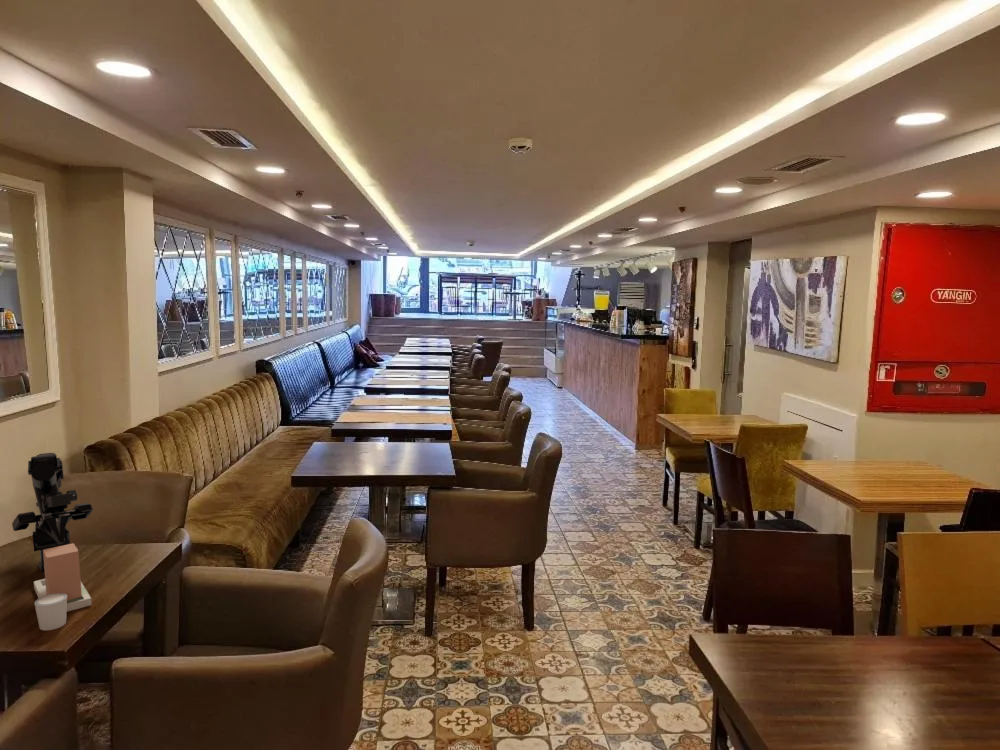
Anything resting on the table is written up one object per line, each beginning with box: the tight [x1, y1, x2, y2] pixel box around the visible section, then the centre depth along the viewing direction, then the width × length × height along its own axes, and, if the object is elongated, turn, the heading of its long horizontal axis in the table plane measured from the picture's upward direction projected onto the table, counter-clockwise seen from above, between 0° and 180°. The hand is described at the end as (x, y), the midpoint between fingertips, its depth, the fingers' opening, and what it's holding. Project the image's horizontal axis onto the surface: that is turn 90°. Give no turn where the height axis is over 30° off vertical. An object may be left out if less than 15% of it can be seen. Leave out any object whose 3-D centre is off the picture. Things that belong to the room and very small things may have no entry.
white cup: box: [34, 593, 67, 631], centre depth 163 cm, size 7×7×7 cm
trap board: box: [33, 578, 93, 612], centre depth 179 cm, size 22×10×2 cm, turn 43°
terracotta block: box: [43, 542, 82, 600], centre depth 174 cm, size 7×7×13 cm
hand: (60, 543), depth 184 cm, fingers closed
